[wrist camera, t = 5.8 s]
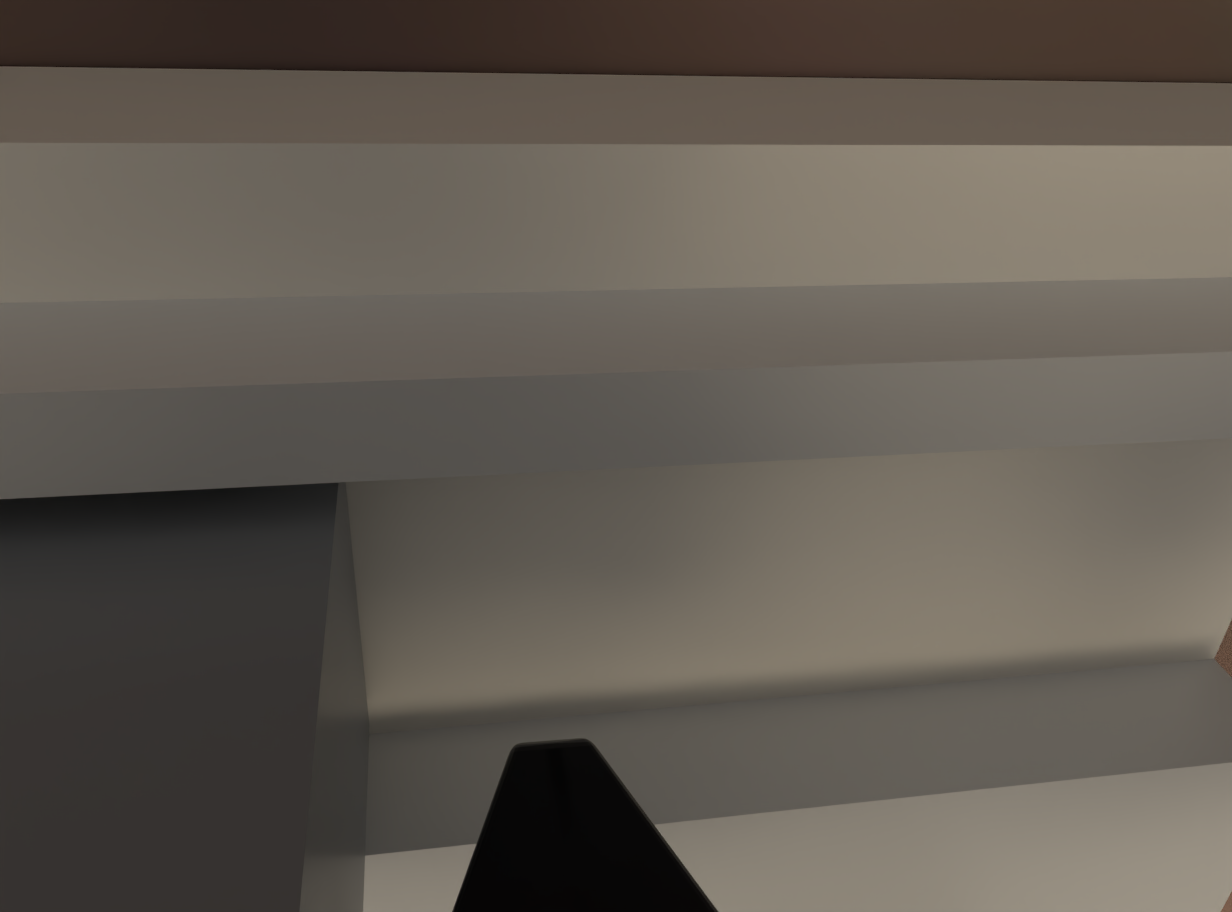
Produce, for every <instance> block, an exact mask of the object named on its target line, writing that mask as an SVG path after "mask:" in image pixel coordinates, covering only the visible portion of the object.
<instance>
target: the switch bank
mask: <svg viewBox="0 0 1232 912" xmlns="http://www.w3.org/2000/svg"><path fill="white" fill-rule="evenodd" d="M338 482H346V493H347V503H348V513H349V523H350V534H351V544H352V554H353V564H354V574H355V585H356V595H357V605H358V615H359V626H360V636H361V646H362V656H363V666H364V677H365V687H366V697H367V707H368V717H369V753H368V783H367V812H366V841H365V871H364V900H363V912H452V911H453V908H454V905H455V902H456V900H457V897H458V894H459V891H460V888H461V886H462V883H463V880H464V877H465V875H466V872H467V869H468V866H469V863H470V861H471V858H472V855H473V852H474V849H475V847H476V844H477V841H478V838H479V835H480V833H481V830H482V827H483V824H484V821H485V819H486V816H487V813H488V810H489V808H490V805H491V802H492V799H493V796H494V794H495V791H496V788H497V785H498V782H499V780H500V777H501V774H502V771H503V768H504V766H505V763H506V760H507V757H508V755H509V752H510V750H511V749H512V748H513V746H514V745H516V744H518V743H524V742H537V741H549V740H562V739H575V738H585V739H588V740H590V741H591V742H592V743H593V744H594V745H595V746H596V747H597V748H598V750H599V751H600V752H601V754H602V755H603V756H604V758H605V759H606V760H607V762H608V763H609V764H610V766H611V767H612V768H613V770H614V771H615V773H616V774H617V775H618V777H619V778H620V779H621V781H622V782H623V783H624V785H625V786H626V787H627V789H628V790H629V791H630V793H631V794H632V795H633V797H634V798H635V800H636V801H637V802H638V804H639V805H640V806H641V808H642V809H643V810H644V812H645V813H646V814H647V816H648V817H649V818H650V820H651V821H652V822H653V824H654V825H655V827H656V828H657V829H658V831H659V832H660V833H661V835H662V836H663V837H664V839H665V840H666V841H667V843H668V844H669V845H670V847H671V848H672V849H673V851H674V852H675V854H676V855H677V856H678V858H679V859H680V860H681V862H682V863H683V864H684V866H685V867H686V868H687V870H688V871H689V872H690V874H691V875H692V876H693V878H694V879H695V881H696V882H697V883H698V885H699V886H700V887H701V889H702V890H703V891H704V893H705V894H706V895H707V897H708V898H709V899H710V901H711V902H712V903H713V905H714V906H715V908H716V909H717V910H718V912H1221V910H1222V908H1223V906H1224V904H1225V903H1226V901H1227V899H1228V897H1229V895H1230V893H1231V891H1232V677H1231V676H1230V675H1229V674H1228V673H1227V672H1226V671H1225V670H1224V669H1223V668H1222V667H1221V666H1220V665H1219V664H1218V663H1217V662H1216V660H1215V659H1214V658H1215V656H1216V653H1217V651H1218V649H1219V647H1220V644H1221V642H1222V640H1223V638H1224V635H1225V633H1226V631H1227V629H1228V626H1229V624H1230V622H1231V620H1232V83H1174V82H1102V81H1030V80H957V79H884V78H812V77H739V76H667V75H594V74H522V73H449V72H377V71H304V70H232V69H159V68H87V67H14V66H0V499H16V498H36V497H56V496H76V495H97V494H117V493H137V492H157V491H177V490H197V489H217V488H238V487H258V486H278V485H298V484H318V483H338Z"/></svg>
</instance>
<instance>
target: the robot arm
mask: <svg viewBox="0 0 1232 912" xmlns="http://www.w3.org/2000/svg"><path fill="white" fill-rule="evenodd" d="M452 912H718V910H717V909H716V908H715V906H714V905H713V903H712V902H711V901H710V899H709V898H708V897H707V895H706V894H705V893H704V891H703V890H702V889H701V887H700V886H699V885H698V883H697V882H696V881H695V879H694V878H693V876H692V875H691V874H690V872H689V871H688V870H687V868H686V867H685V866H684V864H683V863H682V862H681V860H680V859H679V858H678V856H677V855H676V854H675V852H674V851H673V849H672V848H671V847H670V845H669V844H668V843H667V841H666V840H665V839H664V837H663V836H662V835H661V833H660V832H659V831H658V829H657V828H656V827H655V825H654V824H653V822H652V821H651V820H650V818H649V817H648V816H647V814H646V813H645V812H644V810H643V809H642V808H641V806H640V805H639V804H638V802H637V801H636V800H635V798H634V797H633V795H632V794H631V793H630V791H629V790H628V789H627V787H626V786H625V785H624V783H623V782H622V781H621V779H620V778H619V777H618V775H617V774H616V773H615V771H614V770H613V768H612V767H611V766H610V764H609V763H608V762H607V760H606V759H605V758H604V756H603V755H602V754H601V752H600V751H599V750H598V748H597V747H596V746H595V745H594V744H593V743H592V742H591V741H590V740H588V739H585V738H575V739H562V740H549V741H537V742H524V743H518V744H516V745H514V746H513V748H512V749H511V750H510V752H509V755H508V757H507V760H506V763H505V766H504V768H503V771H502V774H501V777H500V780H499V782H498V785H497V788H496V791H495V794H494V796H493V799H492V802H491V805H490V808H489V810H488V813H487V816H486V819H485V821H484V824H483V827H482V830H481V833H480V835H479V838H478V841H477V844H476V847H475V849H474V852H473V855H472V858H471V861H470V863H469V866H468V869H467V872H466V875H465V877H464V880H463V883H462V886H461V888H460V891H459V894H458V897H457V900H456V902H455V905H454V908H453V911H452Z"/></svg>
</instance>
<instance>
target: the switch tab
mask: <svg viewBox="0 0 1232 912" xmlns="http://www.w3.org/2000/svg"><path fill="white" fill-rule="evenodd" d="M368 753H369V717H368V707H367V697H366V687H365V677H364V666H363V656H362V646H361V636H360V626H359V615H358V605H357V595H356V585H355V574H354V564H353V554H352V544H351V534H350V523H349V513H348V503H347V493H346V482H338V483H318V484H298V485H278V486H258V487H238V488H217V489H197V490H177V491H157V492H137V493H117V494H97V495H76V496H56V497H36V498H16V499H0V912H363V900H364V871H365V841H366V812H367V783H368Z"/></svg>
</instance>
